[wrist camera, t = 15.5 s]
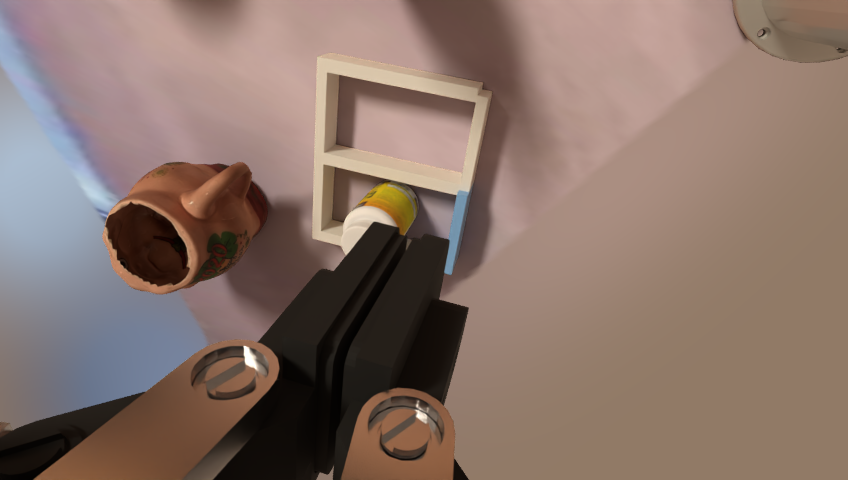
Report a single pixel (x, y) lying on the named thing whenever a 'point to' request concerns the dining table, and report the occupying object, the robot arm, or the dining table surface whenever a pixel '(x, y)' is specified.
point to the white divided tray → (386, 166)
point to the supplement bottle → (381, 211)
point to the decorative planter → (183, 225)
